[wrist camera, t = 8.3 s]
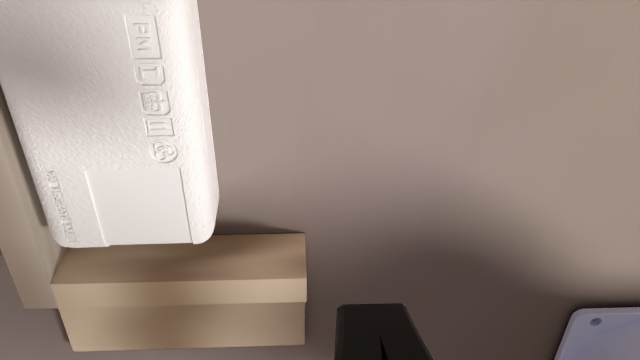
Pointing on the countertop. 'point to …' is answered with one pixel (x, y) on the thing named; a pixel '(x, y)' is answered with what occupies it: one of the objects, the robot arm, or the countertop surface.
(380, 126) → the countertop surface
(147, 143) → the soap
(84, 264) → the soap dock
